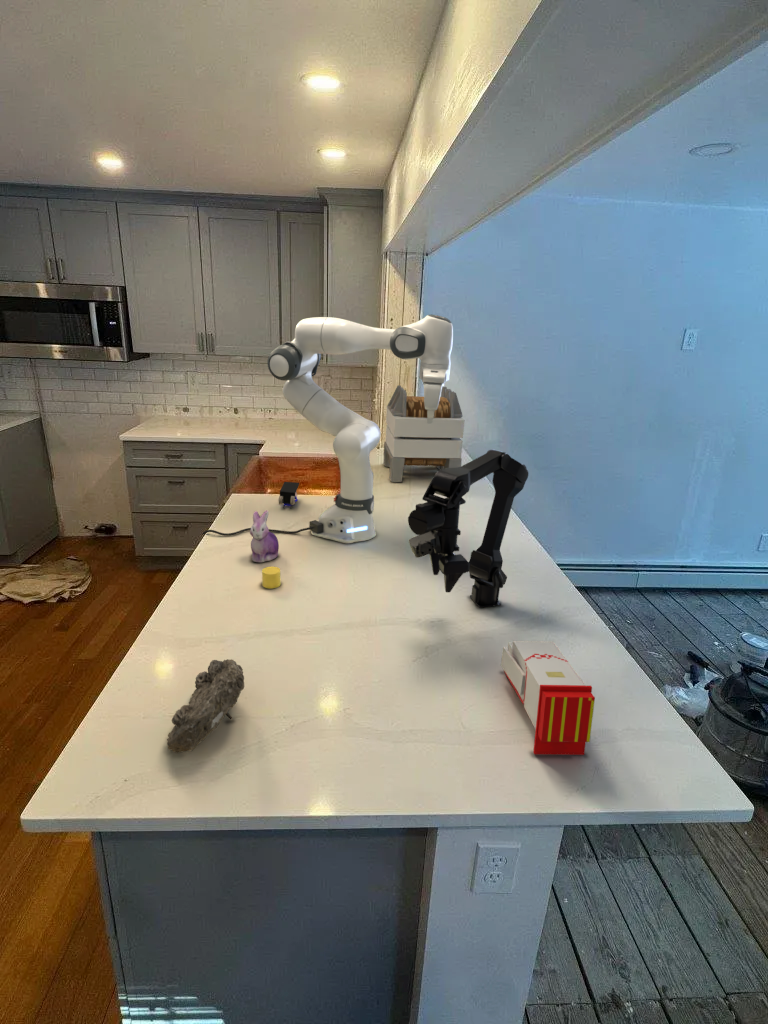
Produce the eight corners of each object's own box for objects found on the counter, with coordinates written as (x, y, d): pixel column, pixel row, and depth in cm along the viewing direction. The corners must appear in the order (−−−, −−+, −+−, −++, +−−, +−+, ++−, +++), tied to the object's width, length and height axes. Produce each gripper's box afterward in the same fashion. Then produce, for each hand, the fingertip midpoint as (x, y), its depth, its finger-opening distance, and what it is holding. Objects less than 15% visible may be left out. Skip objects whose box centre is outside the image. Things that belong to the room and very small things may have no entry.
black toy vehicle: (295, 514, 218) (300, 497, 231) (295, 496, 214) (299, 480, 228) (278, 513, 217) (283, 497, 231) (277, 495, 214) (283, 480, 227)
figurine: (254, 565, 170) (252, 519, 165) (245, 552, 179) (243, 508, 174) (284, 560, 175) (283, 515, 169) (274, 548, 183) (273, 504, 178)
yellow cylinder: (272, 590, 157) (272, 575, 155) (258, 585, 159) (258, 571, 158) (284, 583, 161) (283, 569, 159) (270, 578, 163) (270, 564, 162)
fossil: (192, 660, 117) (244, 628, 112) (224, 691, 120) (276, 661, 115) (142, 746, 98) (202, 712, 93) (182, 779, 101) (242, 748, 96)
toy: (549, 624, 127) (604, 693, 98) (544, 678, 130) (596, 762, 100) (496, 622, 127) (535, 692, 97) (491, 677, 129) (528, 761, 100)
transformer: (382, 463, 289) (386, 382, 275) (445, 464, 293) (451, 384, 279) (390, 482, 257) (394, 392, 243) (460, 483, 261) (468, 394, 247)
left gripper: (425, 369, 177) (421, 413, 181) (422, 376, 158) (418, 425, 162) (445, 370, 176) (441, 415, 181) (445, 378, 157) (440, 427, 162)
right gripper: (402, 511, 140) (399, 568, 145) (425, 541, 123) (421, 605, 128) (445, 509, 142) (441, 565, 148) (473, 538, 125) (467, 600, 131)
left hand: (430, 420), depth 171 cm, fingers open, 8 cm apart
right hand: (441, 583), depth 139 cm, fingers open, 9 cm apart
